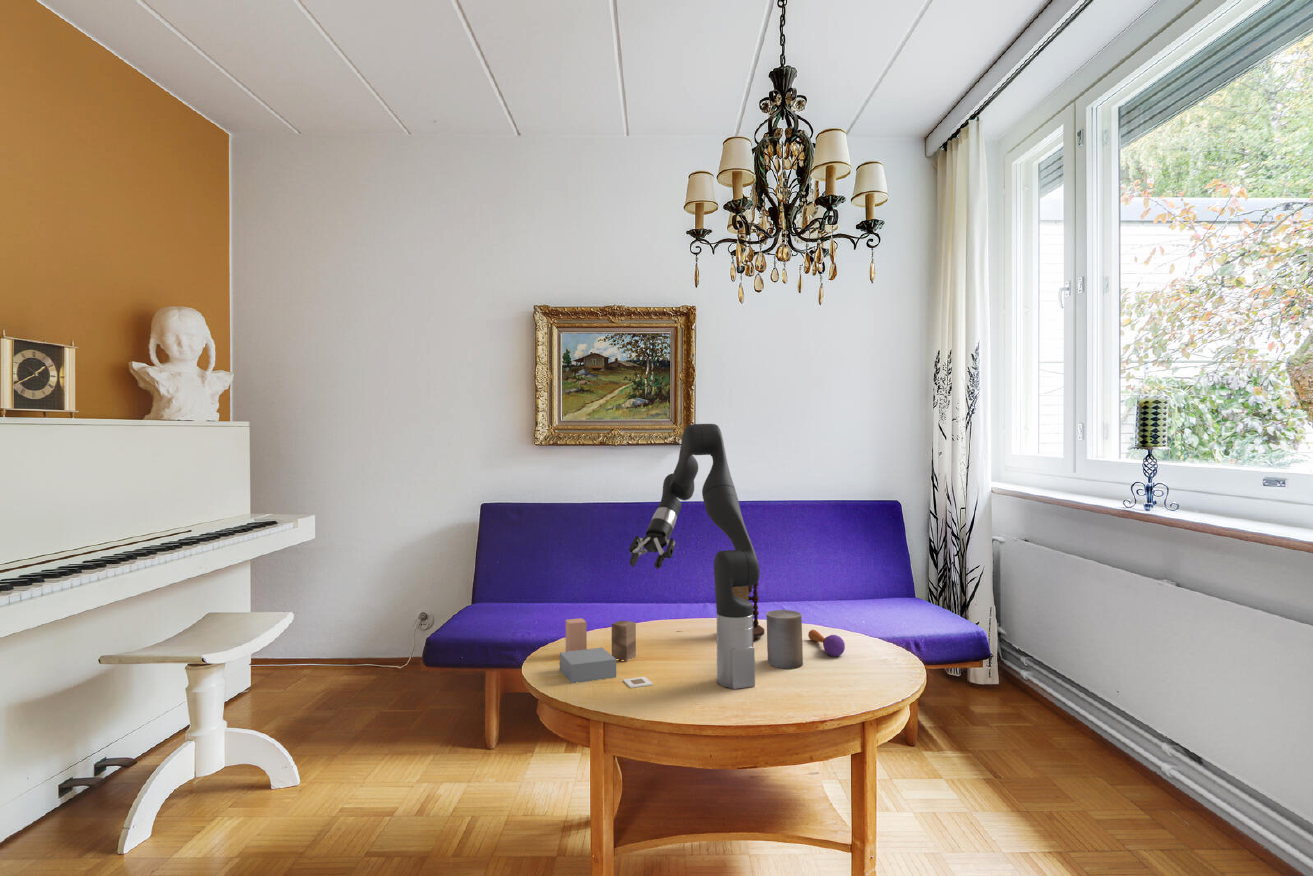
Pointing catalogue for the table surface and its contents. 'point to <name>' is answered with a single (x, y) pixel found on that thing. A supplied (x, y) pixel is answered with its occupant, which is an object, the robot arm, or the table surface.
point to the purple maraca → (829, 643)
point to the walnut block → (624, 640)
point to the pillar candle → (784, 638)
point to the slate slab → (587, 665)
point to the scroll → (744, 593)
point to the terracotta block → (576, 634)
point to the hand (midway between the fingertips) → (644, 566)
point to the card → (637, 682)
